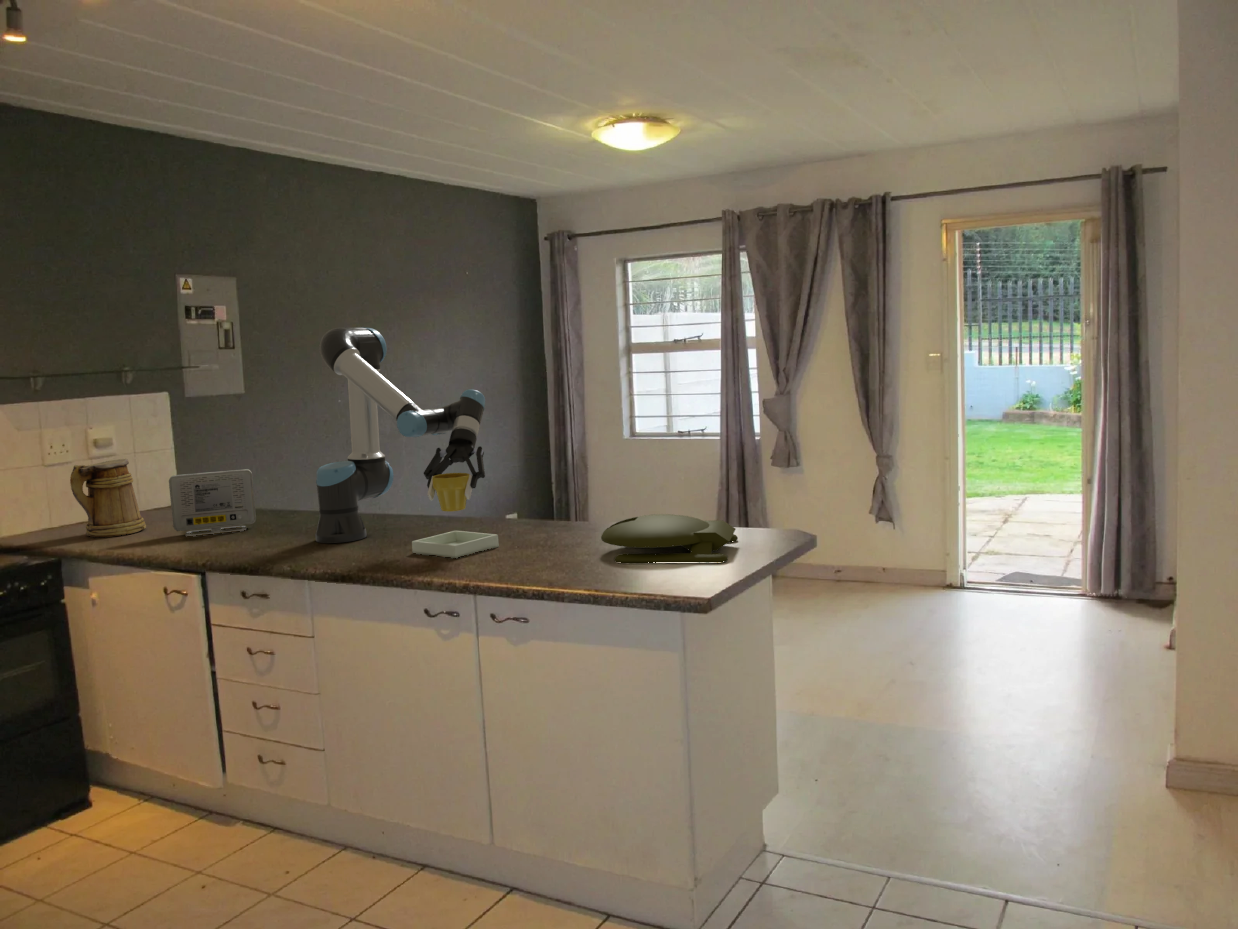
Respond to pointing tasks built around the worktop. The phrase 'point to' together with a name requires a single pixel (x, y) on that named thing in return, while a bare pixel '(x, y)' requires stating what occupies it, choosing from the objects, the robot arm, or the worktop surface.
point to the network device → (212, 501)
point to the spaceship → (670, 538)
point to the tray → (455, 544)
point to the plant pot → (451, 490)
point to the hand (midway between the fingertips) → (448, 497)
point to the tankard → (107, 498)
